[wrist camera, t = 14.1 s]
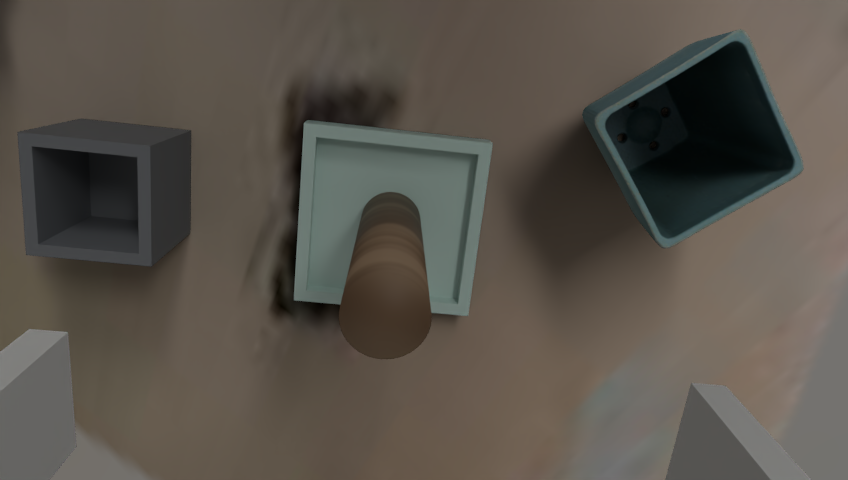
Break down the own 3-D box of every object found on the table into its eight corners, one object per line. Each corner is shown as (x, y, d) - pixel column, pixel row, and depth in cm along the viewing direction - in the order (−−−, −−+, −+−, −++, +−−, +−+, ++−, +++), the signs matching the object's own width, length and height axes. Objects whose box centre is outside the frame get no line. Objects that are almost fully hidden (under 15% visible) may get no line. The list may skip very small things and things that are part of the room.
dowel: (363, 188, 42) (342, 269, 26) (423, 195, 42) (436, 278, 27) (358, 246, 43) (335, 355, 28) (417, 251, 43) (426, 362, 28)
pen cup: (80, 118, 41) (17, 131, 34) (191, 130, 41) (150, 146, 34) (85, 222, 43) (26, 254, 36) (190, 232, 43) (151, 266, 36)
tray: (308, 119, 41) (303, 122, 39) (489, 139, 42) (492, 143, 40) (297, 290, 44) (293, 300, 43) (465, 305, 45) (468, 316, 44)
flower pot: (612, 213, 44) (663, 253, 35) (551, 104, 41) (591, 118, 33) (726, 146, 43) (809, 170, 34) (671, 30, 40) (745, 24, 32)
